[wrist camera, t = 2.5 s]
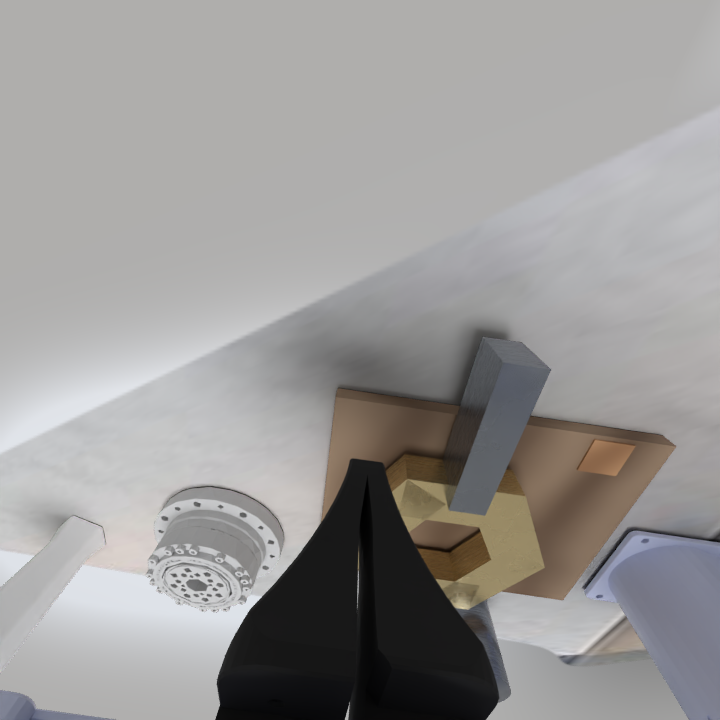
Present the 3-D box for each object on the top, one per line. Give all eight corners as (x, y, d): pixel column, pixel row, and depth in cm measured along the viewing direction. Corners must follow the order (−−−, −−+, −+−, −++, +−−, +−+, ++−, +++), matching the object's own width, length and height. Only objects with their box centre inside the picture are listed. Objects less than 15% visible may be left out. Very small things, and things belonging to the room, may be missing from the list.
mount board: (662, 435, 19) (677, 447, 18) (556, 586, 26) (563, 601, 25) (337, 388, 19) (335, 397, 18) (318, 552, 26) (316, 565, 25)
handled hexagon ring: (503, 586, 24) (519, 633, 22) (333, 561, 24) (327, 605, 22) (634, 358, 16) (686, 389, 13) (370, 320, 16) (367, 342, 13)
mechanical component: (267, 479, 23) (144, 486, 24) (243, 535, 19) (98, 540, 20) (296, 564, 27) (191, 566, 28) (282, 624, 23) (160, 624, 24)
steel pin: (491, 588, 27) (519, 683, 21) (477, 613, 28) (500, 707, 23) (445, 581, 27) (461, 675, 21) (434, 606, 28) (446, 700, 23)
